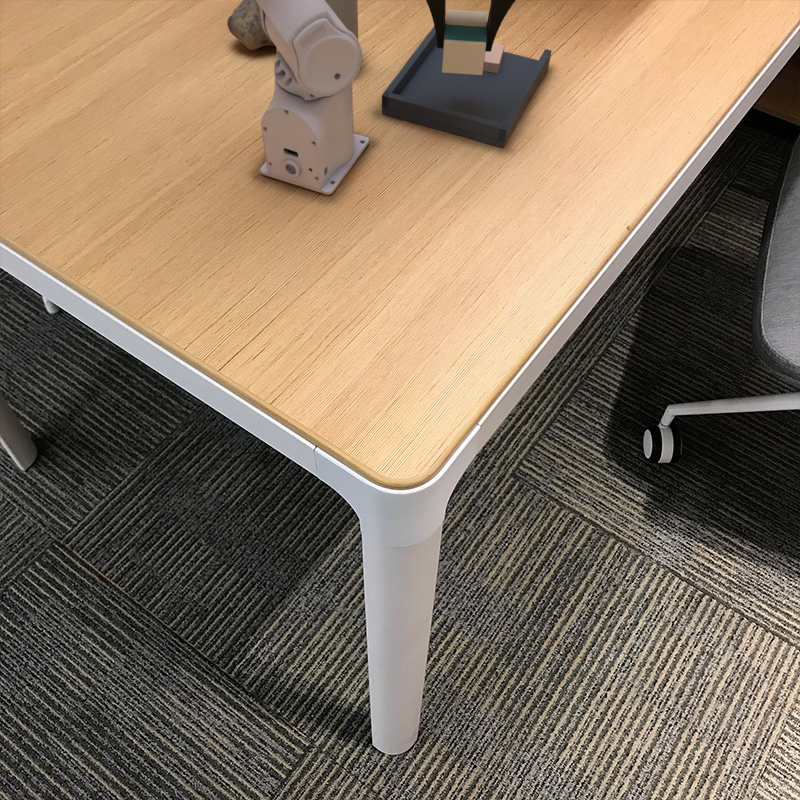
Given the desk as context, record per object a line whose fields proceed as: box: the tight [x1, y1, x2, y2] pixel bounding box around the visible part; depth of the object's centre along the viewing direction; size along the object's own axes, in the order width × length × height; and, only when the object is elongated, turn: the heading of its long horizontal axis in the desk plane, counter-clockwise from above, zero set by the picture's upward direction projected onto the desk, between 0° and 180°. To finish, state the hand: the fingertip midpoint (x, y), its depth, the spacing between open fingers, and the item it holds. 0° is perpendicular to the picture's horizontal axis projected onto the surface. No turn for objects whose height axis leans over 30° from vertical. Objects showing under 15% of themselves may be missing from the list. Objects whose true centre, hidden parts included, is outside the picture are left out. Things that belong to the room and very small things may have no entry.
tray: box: [381, 26, 552, 149], centre depth 85 cm, size 16×14×2 cm
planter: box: [325, 0, 359, 40], centre depth 84 cm, size 4×4×10 cm
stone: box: [226, 0, 276, 51], centre depth 88 cm, size 10×5×8 cm
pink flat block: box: [483, 42, 505, 73], centre depth 87 cm, size 4×4×1 cm
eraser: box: [442, 9, 488, 75], centre depth 76 cm, size 4×6×3 cm
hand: (463, 44), depth 76 cm, fingers closed on eraser, 4 cm apart
